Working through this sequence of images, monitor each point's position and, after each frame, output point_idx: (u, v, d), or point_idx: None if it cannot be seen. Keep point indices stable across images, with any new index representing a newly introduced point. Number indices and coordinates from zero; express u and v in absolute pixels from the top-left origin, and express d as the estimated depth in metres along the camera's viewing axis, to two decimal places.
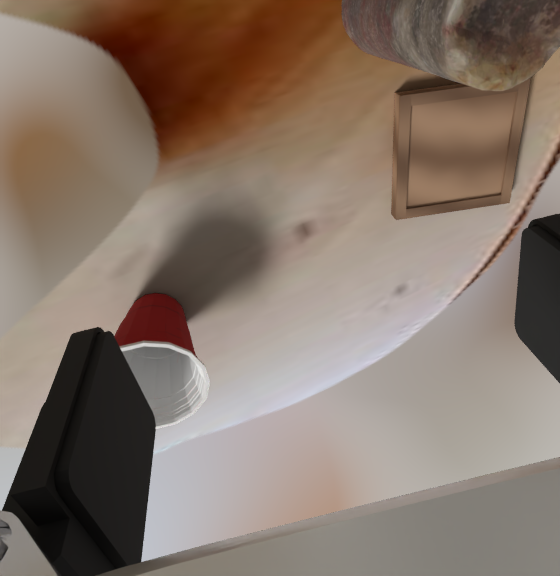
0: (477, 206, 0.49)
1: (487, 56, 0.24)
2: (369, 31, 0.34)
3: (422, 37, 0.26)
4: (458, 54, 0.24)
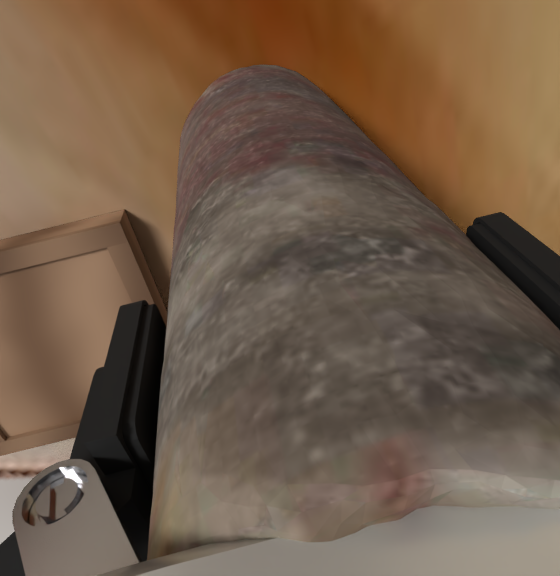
0: None
1: None
2: (227, 121, 0.14)
3: (285, 297, 0.06)
4: None
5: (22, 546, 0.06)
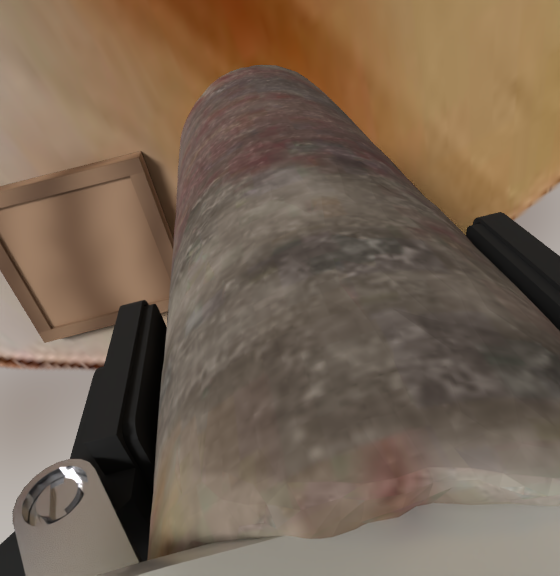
0: (24, 307, 0.36)
1: None
2: (228, 121, 0.14)
3: (285, 297, 0.06)
4: None
5: (22, 546, 0.06)
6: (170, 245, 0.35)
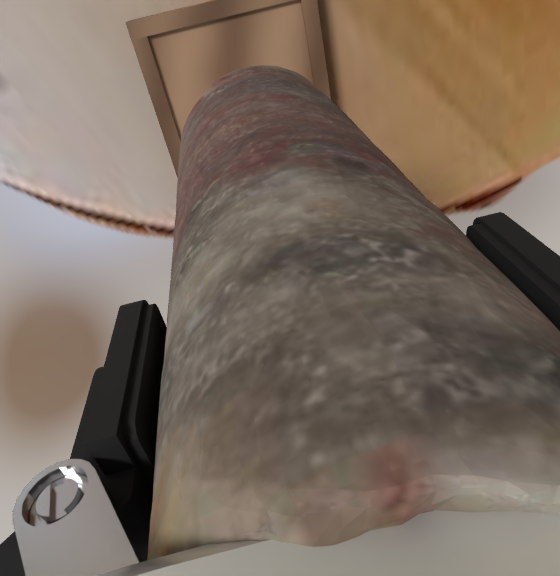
0: (172, 155, 0.35)
1: None
2: (228, 122, 0.14)
3: (285, 300, 0.06)
4: None
5: (22, 546, 0.06)
6: (328, 87, 0.34)
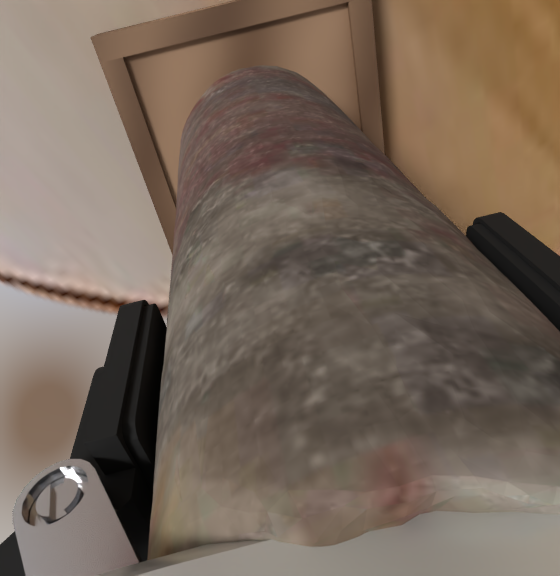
0: (161, 219, 0.25)
1: None
2: (228, 122, 0.14)
3: (286, 301, 0.06)
4: None
5: (22, 546, 0.06)
6: (380, 126, 0.24)
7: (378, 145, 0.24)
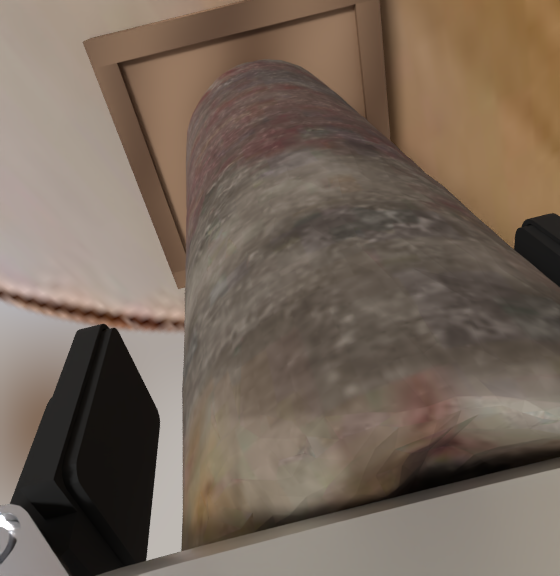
0: (158, 231, 0.24)
1: None
2: (238, 111, 0.15)
3: (309, 263, 0.07)
4: (319, 488, 0.05)
5: None
6: (388, 134, 0.23)
7: None
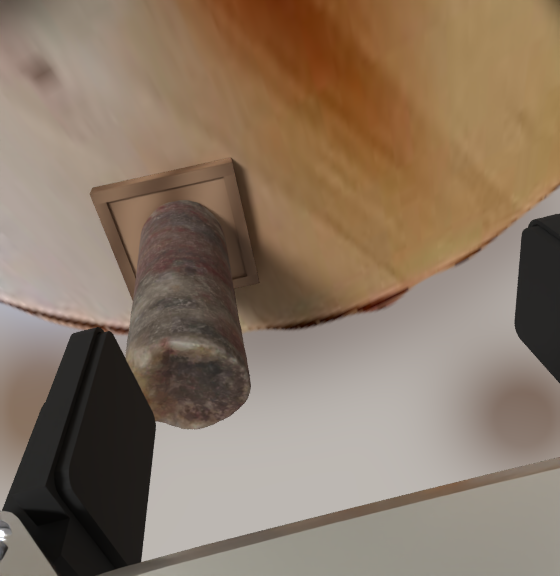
0: (126, 280, 0.44)
1: (151, 380, 0.27)
2: (157, 242, 0.35)
3: (156, 313, 0.28)
4: (147, 359, 0.25)
5: None
6: (247, 233, 0.44)
7: (247, 242, 0.44)
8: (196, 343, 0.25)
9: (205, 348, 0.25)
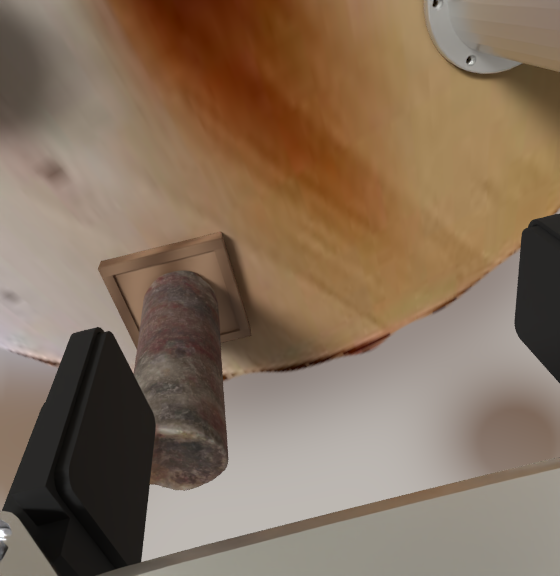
0: (132, 337, 0.50)
1: None
2: (154, 318, 0.41)
3: (149, 398, 0.33)
4: None
5: None
6: (238, 295, 0.49)
7: (238, 302, 0.50)
8: (179, 429, 0.31)
9: (187, 433, 0.31)
